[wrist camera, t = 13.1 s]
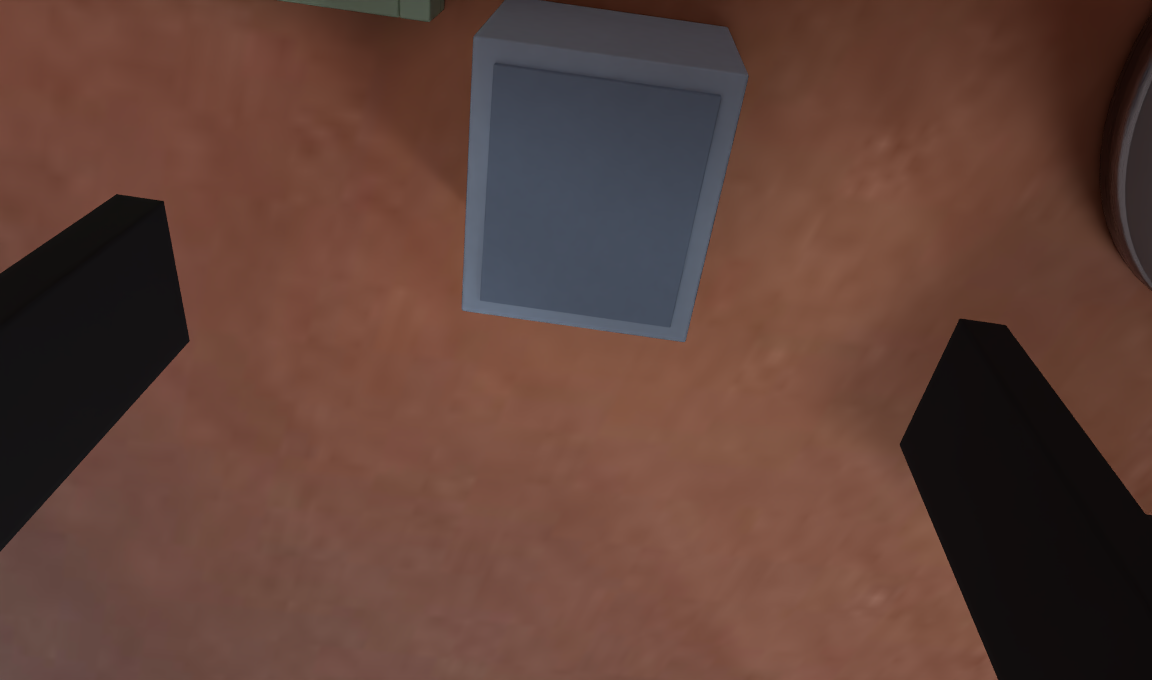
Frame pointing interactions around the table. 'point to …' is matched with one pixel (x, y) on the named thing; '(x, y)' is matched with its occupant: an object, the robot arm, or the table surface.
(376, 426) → the table surface
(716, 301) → the table surface
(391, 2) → the backing tray
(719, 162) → the blue box
